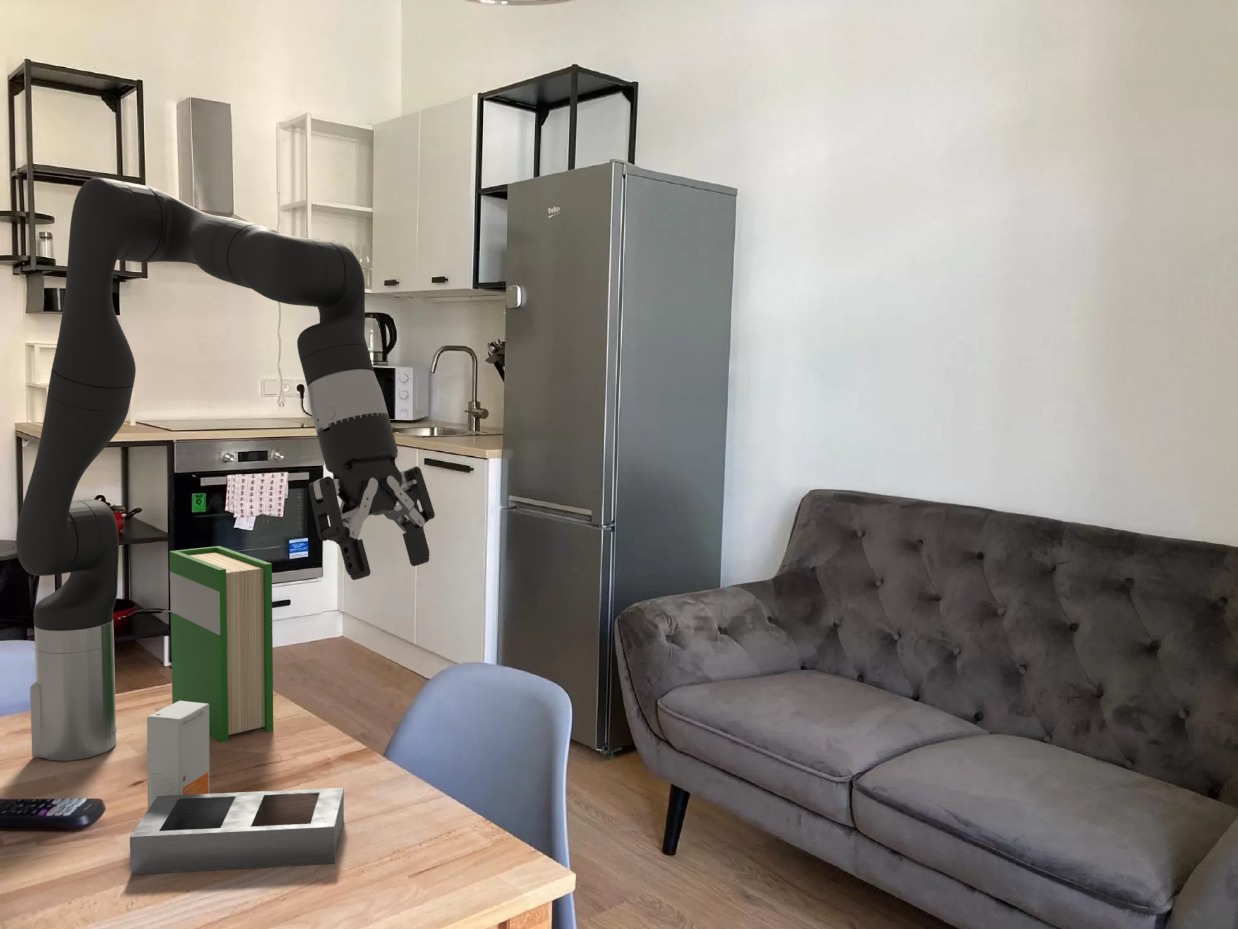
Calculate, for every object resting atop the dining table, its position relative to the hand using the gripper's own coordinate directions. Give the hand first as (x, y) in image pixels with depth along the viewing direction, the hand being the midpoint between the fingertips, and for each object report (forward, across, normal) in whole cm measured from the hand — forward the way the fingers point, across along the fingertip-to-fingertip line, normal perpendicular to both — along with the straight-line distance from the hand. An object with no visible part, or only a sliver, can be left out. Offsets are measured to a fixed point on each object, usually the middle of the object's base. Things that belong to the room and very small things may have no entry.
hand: (392, 571), depth 106 cm
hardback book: (+12, -17, -58) cm, 61 cm away
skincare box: (+19, +5, -38) cm, 43 cm away
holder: (+24, +7, -25) cm, 35 cm away
